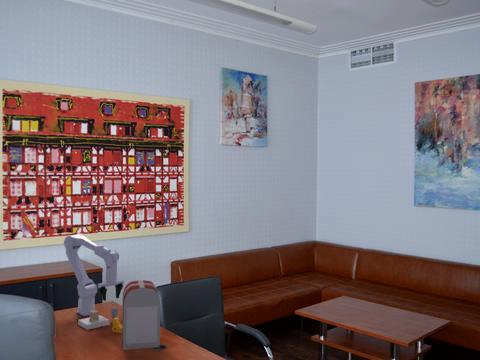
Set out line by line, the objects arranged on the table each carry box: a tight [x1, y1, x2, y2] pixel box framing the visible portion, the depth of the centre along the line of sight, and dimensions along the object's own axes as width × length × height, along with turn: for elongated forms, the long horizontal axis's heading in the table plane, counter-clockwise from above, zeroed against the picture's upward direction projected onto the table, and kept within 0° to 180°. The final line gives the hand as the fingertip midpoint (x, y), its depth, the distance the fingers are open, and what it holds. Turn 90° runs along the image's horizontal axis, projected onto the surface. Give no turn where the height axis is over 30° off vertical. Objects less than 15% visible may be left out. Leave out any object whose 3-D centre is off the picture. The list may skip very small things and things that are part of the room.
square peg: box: [89, 309, 100, 322], centre depth 242 cm, size 3×3×7 cm
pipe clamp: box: [112, 317, 122, 334], centre depth 233 cm, size 12×4×6 cm, turn 69°
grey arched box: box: [121, 279, 161, 351], centre depth 221 cm, size 17×18×27 cm
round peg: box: [110, 307, 119, 324], centre depth 247 cm, size 3×3×7 cm
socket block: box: [77, 314, 110, 331], centre depth 243 cm, size 10×12×2 cm
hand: (110, 299), depth 256 cm, fingers open, 7 cm apart
